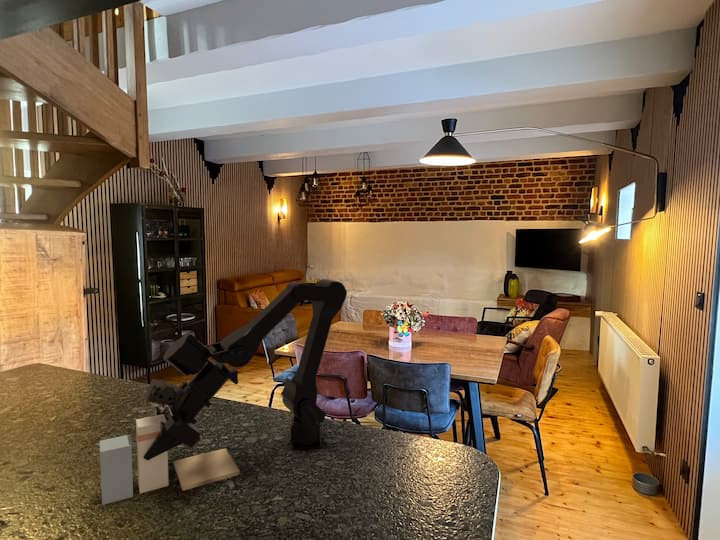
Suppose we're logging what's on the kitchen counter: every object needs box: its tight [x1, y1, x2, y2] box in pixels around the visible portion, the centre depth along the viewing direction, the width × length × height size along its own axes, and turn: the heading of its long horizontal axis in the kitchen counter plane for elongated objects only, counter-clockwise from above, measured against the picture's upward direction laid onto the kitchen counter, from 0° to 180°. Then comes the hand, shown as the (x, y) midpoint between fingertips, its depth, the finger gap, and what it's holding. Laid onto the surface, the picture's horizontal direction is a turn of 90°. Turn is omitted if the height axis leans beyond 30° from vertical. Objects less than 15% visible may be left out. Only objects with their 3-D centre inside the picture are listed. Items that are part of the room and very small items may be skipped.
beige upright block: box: [135, 414, 169, 494], centre depth 84 cm, size 5×4×13 cm
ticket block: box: [99, 434, 134, 506], centre depth 81 cm, size 5×5×10 cm
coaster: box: [172, 447, 241, 492], centre depth 90 cm, size 11×11×1 cm
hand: (144, 453), depth 83 cm, fingers closed on beige upright block, 4 cm apart
